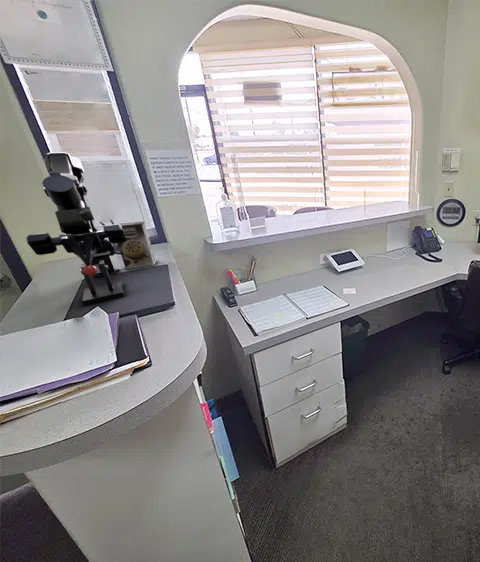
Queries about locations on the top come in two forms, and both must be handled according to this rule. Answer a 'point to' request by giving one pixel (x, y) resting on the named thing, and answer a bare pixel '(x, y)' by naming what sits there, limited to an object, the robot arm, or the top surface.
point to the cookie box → (136, 246)
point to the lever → (91, 270)
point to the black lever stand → (101, 287)
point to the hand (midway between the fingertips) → (88, 264)
